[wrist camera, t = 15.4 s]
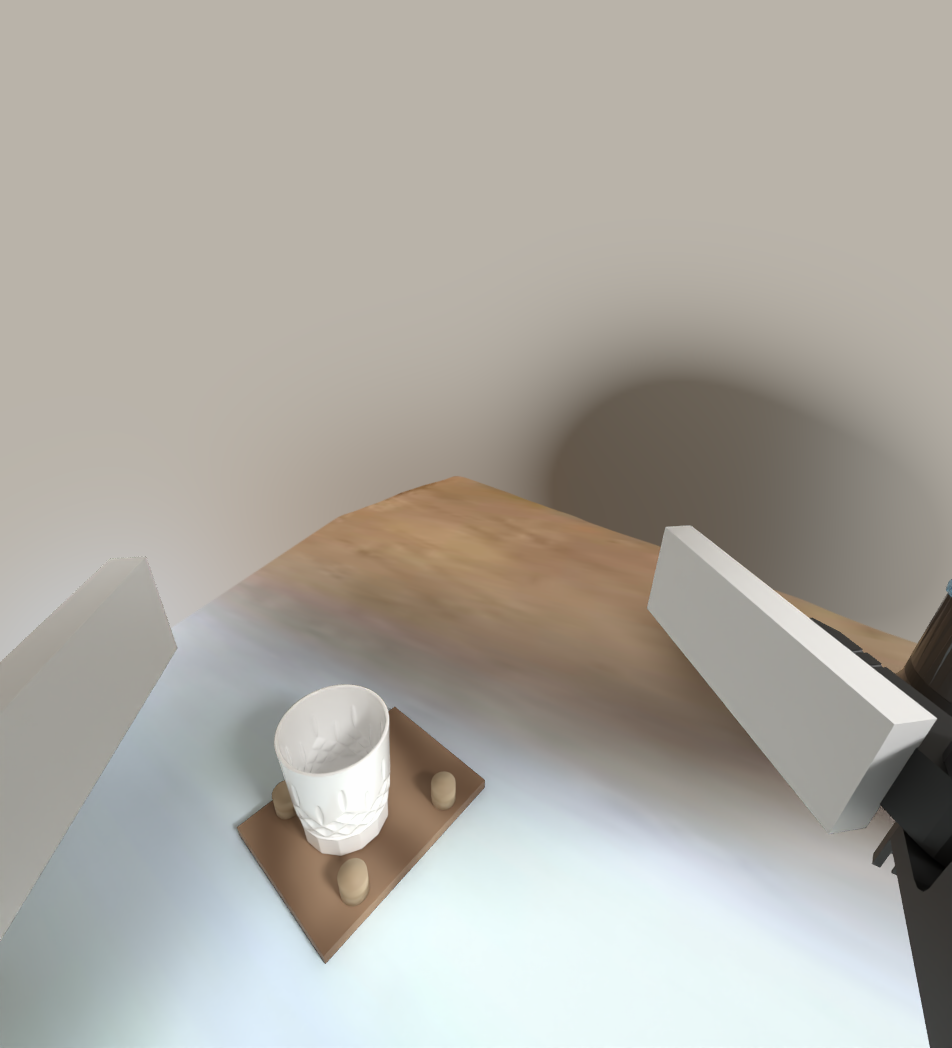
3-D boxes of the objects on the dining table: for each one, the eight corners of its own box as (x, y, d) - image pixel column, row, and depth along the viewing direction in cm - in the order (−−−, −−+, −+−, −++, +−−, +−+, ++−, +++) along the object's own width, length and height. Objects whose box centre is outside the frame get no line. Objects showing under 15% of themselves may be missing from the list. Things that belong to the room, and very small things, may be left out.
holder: (395, 713, 48) (393, 692, 46) (484, 787, 41) (485, 764, 40) (239, 835, 37) (231, 811, 36) (325, 963, 30) (319, 940, 29)
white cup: (273, 827, 36) (249, 739, 32) (347, 752, 43) (335, 670, 38) (346, 889, 33) (329, 799, 28) (416, 797, 39) (411, 711, 34)
